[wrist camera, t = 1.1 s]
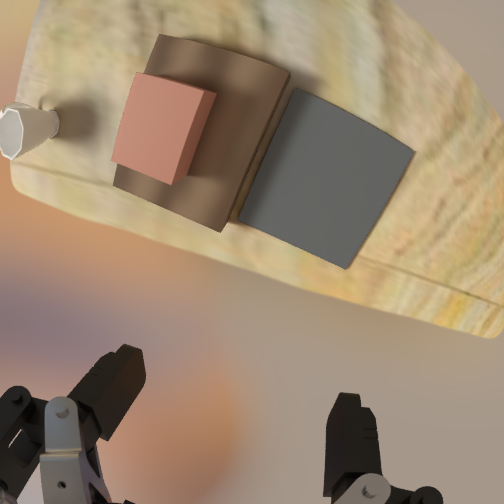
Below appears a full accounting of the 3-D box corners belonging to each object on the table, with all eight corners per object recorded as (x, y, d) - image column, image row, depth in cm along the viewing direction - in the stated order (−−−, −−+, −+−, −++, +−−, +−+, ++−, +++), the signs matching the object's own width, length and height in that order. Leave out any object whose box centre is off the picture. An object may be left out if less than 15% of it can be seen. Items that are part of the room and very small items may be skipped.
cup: (53, 156, 34) (13, 171, 27) (22, 120, 31) (-16, 130, 24) (73, 117, 31) (30, 125, 24) (39, 82, 28) (-1, 86, 21)
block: (131, 153, 29) (111, 160, 25) (155, 75, 25) (136, 72, 21) (186, 175, 29) (171, 185, 26) (217, 93, 25) (204, 91, 21)
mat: (237, 218, 34) (237, 220, 34) (296, 88, 26) (295, 87, 26) (345, 267, 34) (345, 269, 34) (412, 150, 27) (413, 151, 27)
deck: (125, 179, 34) (112, 185, 31) (171, 39, 25) (159, 33, 22) (227, 222, 34) (220, 232, 32) (290, 75, 26) (289, 72, 23)
